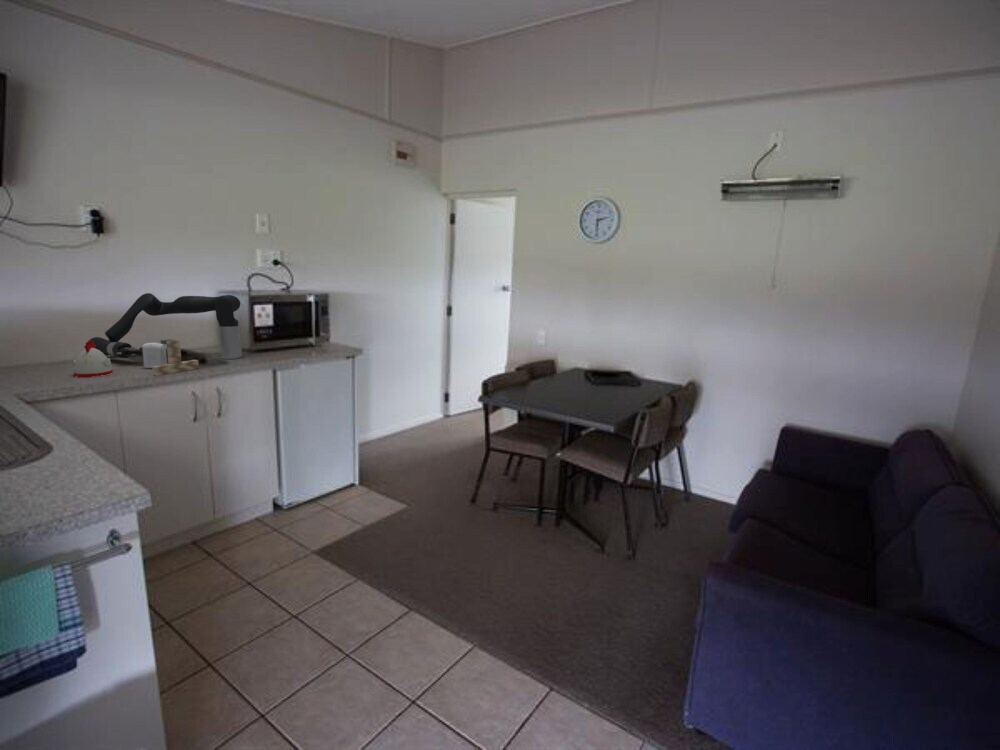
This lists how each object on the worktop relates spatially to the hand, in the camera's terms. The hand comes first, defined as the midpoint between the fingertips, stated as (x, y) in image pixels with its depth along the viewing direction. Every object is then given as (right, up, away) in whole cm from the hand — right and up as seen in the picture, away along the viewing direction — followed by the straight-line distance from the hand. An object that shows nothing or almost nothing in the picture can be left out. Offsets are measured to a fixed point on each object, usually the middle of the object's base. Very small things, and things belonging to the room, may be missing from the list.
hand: (142, 352), depth 253 cm
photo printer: (+8, -8, -3) cm, 12 cm away
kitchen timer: (-9, -10, -19) cm, 23 cm away
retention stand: (+20, -9, -8) cm, 23 cm away
